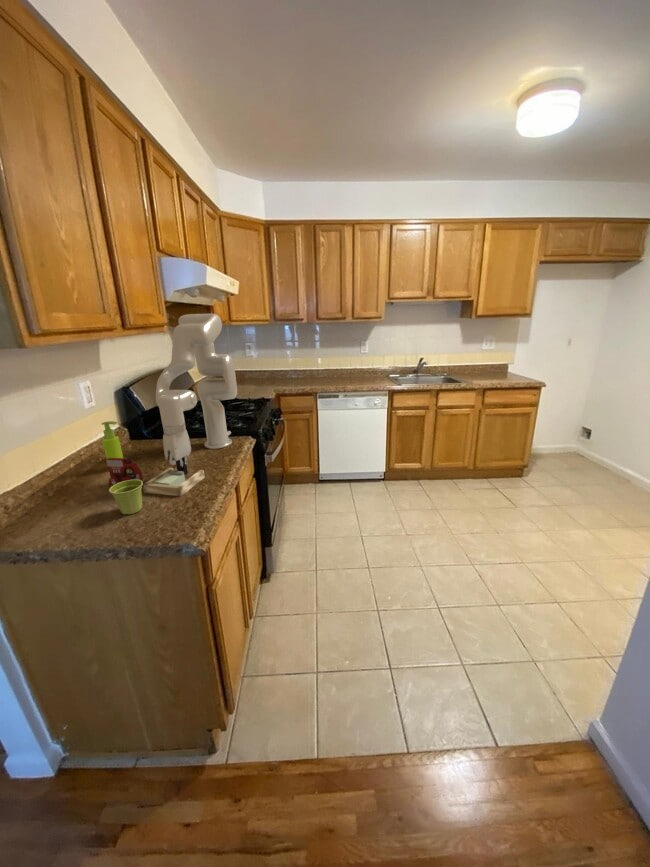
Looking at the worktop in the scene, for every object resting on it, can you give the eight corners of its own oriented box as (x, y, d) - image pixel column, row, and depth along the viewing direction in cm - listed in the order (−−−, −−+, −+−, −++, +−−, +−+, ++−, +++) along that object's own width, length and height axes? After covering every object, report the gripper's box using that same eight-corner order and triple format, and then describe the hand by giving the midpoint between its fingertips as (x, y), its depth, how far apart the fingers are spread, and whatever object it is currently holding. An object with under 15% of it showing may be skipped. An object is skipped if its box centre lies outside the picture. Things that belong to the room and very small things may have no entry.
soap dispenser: (123, 470, 144) (111, 423, 138) (106, 471, 144) (94, 424, 138) (130, 464, 150) (120, 419, 143) (114, 465, 150) (103, 420, 143)
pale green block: (171, 480, 134) (169, 469, 133) (185, 482, 132) (183, 471, 131) (156, 490, 127) (153, 479, 126) (170, 492, 125) (168, 480, 124)
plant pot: (111, 510, 114) (105, 486, 111) (141, 499, 120) (136, 476, 117) (121, 521, 108) (114, 496, 105) (152, 509, 114) (147, 485, 111)
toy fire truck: (136, 488, 128) (130, 462, 125) (105, 487, 130) (99, 461, 127) (148, 480, 135) (142, 455, 131) (118, 479, 136) (112, 454, 133)
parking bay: (170, 474, 139) (169, 467, 138) (204, 477, 135) (203, 470, 134) (144, 492, 125) (142, 484, 124) (181, 496, 122) (179, 488, 121)
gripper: (178, 422, 136) (186, 465, 142) (151, 434, 122) (161, 482, 128) (195, 422, 134) (202, 466, 140) (170, 435, 120) (179, 483, 126)
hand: (183, 474), depth 134 cm, fingers closed
